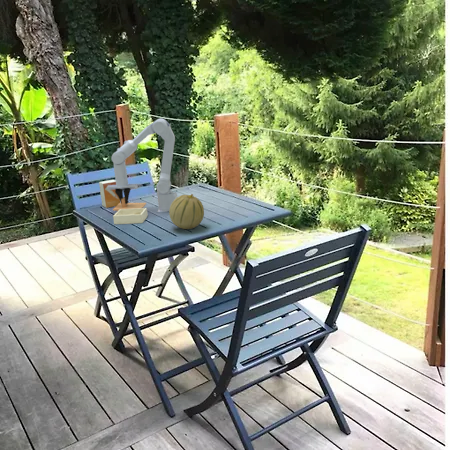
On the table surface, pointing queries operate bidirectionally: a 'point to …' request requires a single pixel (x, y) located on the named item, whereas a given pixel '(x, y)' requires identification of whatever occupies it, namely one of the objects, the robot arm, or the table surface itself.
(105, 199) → the small box
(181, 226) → the cantaloupe
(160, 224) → the table surface
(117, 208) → the lid
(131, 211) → the tub
